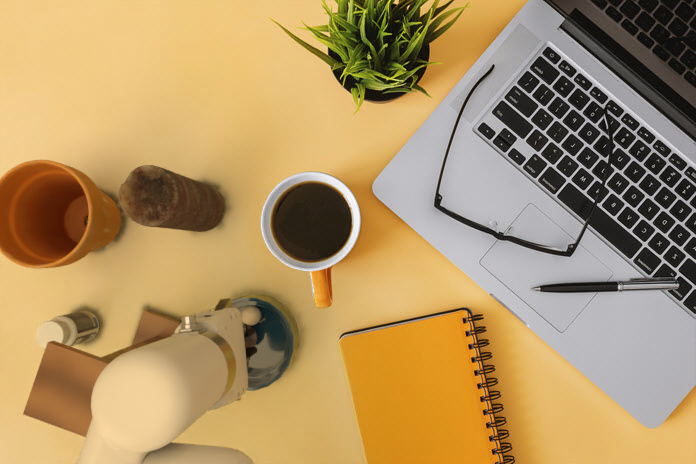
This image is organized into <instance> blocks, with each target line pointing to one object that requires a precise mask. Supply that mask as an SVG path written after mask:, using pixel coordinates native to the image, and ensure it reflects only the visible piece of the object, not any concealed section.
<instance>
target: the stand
mask: <svg viewBox="0 0 696 464" xmlns="http://www.w3.org/2000/svg"><path fill="white" fill-rule="evenodd" d="M181 323H182V321H180V320H178V319H175V318H172V317H169V316H167V315H163V314H160V313H157V312H155V311H152V310H148V309H146V310H143V312H142V315H141V318H140V321H139V324H138V327H137V330H136V333H135V336H134V339H133V341H132V345H129V346H126V347H124V348H121V349H119V350H116V351H114V352H111V353H108V354H106V355H103V356H99V355H97V354H96V355H95V354H93V353H89V352H88V351H85V350H82V349H78V348H76V347H74V346H71V347H70V346H67V345H65V344H62V343H59V342H56V341H50V342H48V343H47V346H46V349H44V351H43V355H42V358H41V360H40V363H39V366H38V369H37V372H36V374H35V378H34V381H33V384H32V386H31V390H30V392H29V394H28V398H27V401H26V404H25V407H24V410H23V413H22V415H23V416H26V417H29V418H32V419H34V420H37V421H40V422H43V423H46V424H48V425H51V426H54V427H57V428H59V429H62V430H64V431H68V432H70V433H73V434H76V435H79V436H81V437H84V438H86V435H87V432H88V429H89V426H90V423H91V420H92V410H91V396H92V392H93V388H94V385H95V383H96V380H97V379H98V377H99V375H100V374H101V372H102V371H103V369H104V368H105V367H106V366H107V365H108V364H109V363H110V362H111V361H113V360H114V359H115V358H116V357H118V356H120V355H121V354H124V353H126V352H128V351H130V350H133V349H136V348H139V347H142V346H144V345H147V344H150V343H153V342H156V341H159V340H162V339H165V338H168V337H171V336H172V335H171V334H174V333H175V330H176V329H177V327H178V326H179V325H180V324H181Z"/></svg>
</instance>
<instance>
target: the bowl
mask: <svg viewBox="0 0 696 464" xmlns="http://www.w3.org/2000/svg"><path fill="white" fill-rule="evenodd" d="M231 301H232V306H233V308H237V309H238V310H239V311H240V313H241V311H242V310H243V308H244V307H246V306H256V307H258V308H259V310H260V311H261V319H260V321H259V322H258V323H257V324H255V325H253V326H251V327H252V328H255V331H256V334H257V343H256V345H255V347H256V348H257V353H255V354H254V355H253V356H251V357H250V360H249V366H248V367H247V372H248V388H247V390H246V392H249V391H251V392H254V391H258V390H261V389H264V388H267V387H269V386H271V385H272V384H274V383H275V382H276V381H278V380H279V379H281V377H282V376H283V375H284V373H285V372H286V371H287V369H288V368H289V366H290V365H291V363H292V362H293V361H294V359H295V357H296V354H297V351H298V348H299V333H300V332H299V329H298V325H297V323H296V319H295V317H294V316H293V314H292V313H291V312H290V310H289V309H288V307H287V306H286V305H284V304H283V303H281V302H280V301H279V300H278V299H276V298H275V297H271V296H267V295H265V294H247V295H244V296H241V297H238V298H234V299H231ZM242 323H243V322H242ZM243 324H244V323H243Z"/></svg>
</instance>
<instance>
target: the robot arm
mask: <svg viewBox="0 0 696 464" xmlns="http://www.w3.org/2000/svg"><path fill="white" fill-rule="evenodd" d="M180 320H181V322H182V323H181V324H180V325H179V326H178V327H177V329H176V330H175V333H174V334H171V335H172V336H171V337H168V338H165V339H162V340H159V341H156V342H153V343H150V344H147V345H144V346H142V347H139V348H136V349H133V350H130V351H128V352H126V353H124V354H121V355H120V356H118V357H116V358H115V359H114V360H113V361H111V362H110V363H109V364H108V365H107V366H106V367H105V368H104V369H103V371H102V372H101V374H100V375H99V377H98V379H97V380H96V383H95V385H94V388H93V392H92V396H91V410H92V420H91V423H90V426H89V429H88V432H87V435H86V437H84V438H85V439H84V441H83V445H82V447H81V449H80V452H79V455H78V458H77V461H76V463H75V464H255V463H254V461H253V459H252V458H251V457H250V456H249V454H248V455H247V453H246V452H243V451H241V450H240V449H237V448H233V447H227V446H217V445H208V444H197V443H185V442H184V443H183V442H173V441H174V440H176V439H177V438H178V437H180V435H182V434H183V433H184V432H185V431H187V429H189V428H190V427H191V426H193V424H194V423H195V422H197V421H198V420H199V419H200V418H201V417H203V416H204V415H205V414H206V413H207V412H209V411H214V410H218V409H221V408H223V407H227V406H228V405H230V404H232V403H233V404H234V403H235V402H238V401H241V399H242V397H243V396H244V395H245V393H246V392H247V391H246V390H247V388H248V372H247V367H248V366H249V360H250V357H251V356H253V355H254V354H255V353H257V348H256V347H247V348H246V349H245V341H244V337H249V336H250V335H252V334H254V332H255V328H247V324H243V323H242V317H241V313H240V311H239V310H238V309H237V308H233V306H232V298H231V297H227V298H221V299H219V301H218V302H217V304H216V306H215V308H214V309H213V310H212V309H206V310H202V311H198V312H195V313H194V314H191V315H184V316H181V317H180Z"/></svg>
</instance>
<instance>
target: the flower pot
mask: <svg viewBox="0 0 696 464" xmlns="http://www.w3.org/2000/svg"><path fill="white" fill-rule="evenodd" d="M121 226H122V214H121V210H120V208H119V206H118V204H117V203H116V202H115V200H114V199H113V198H111V197H110V196H109V195H107V194H106V193H105V192H103V191H102V190H100V189H99V186H98V185H97V184H96V183H95V181H93V179H91V178H90V177H89V175H87V174H86V173H84V172H82V171H81V170H79V169H77V168H74V167H72V166H70V165H67V164H64V163H60V162H57V161H54V160H49V159H33V160H28V161H25V162H22V163H20V164H17V165H15V166H13V167H12V168H10V169H9V170H8V171H6V172H5V173H4V174H3V175H2V176H1V177H0V254H2V255H3V256H4V257H5V258H6V259H7V260H9V261H11V262H12V263H14V264H16V265H19V266H22V267H25V268H29V269H36V270H37V269H38V270H39V269H51V268H60V267H65V266H70V265H72V264H75V263H76V262H79V261H80V260H82V259H84V257H86V256H88V255H89V254H90V253H91V252H94V251H96V250H97V251H98V250H99V249H102V248H105V247H106V246H108V245H110V244H111V243H112V242H113V241H114V240H115V239H116V237H117V236H118V234H119V232H120V231H121Z"/></svg>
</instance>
